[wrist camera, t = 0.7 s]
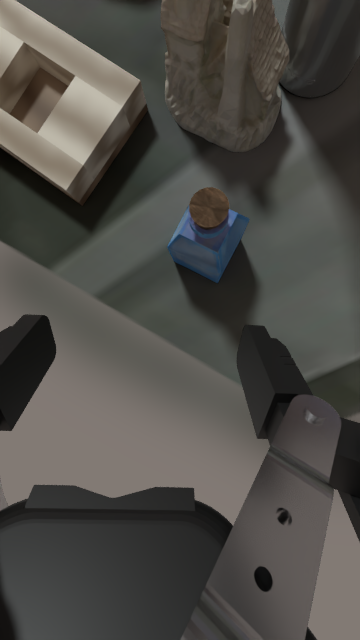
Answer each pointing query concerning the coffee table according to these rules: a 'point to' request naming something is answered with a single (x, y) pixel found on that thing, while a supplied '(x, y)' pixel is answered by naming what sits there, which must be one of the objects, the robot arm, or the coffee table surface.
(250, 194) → the coffee table surface
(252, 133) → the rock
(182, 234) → the perfume bottle
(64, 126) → the socket plinth
